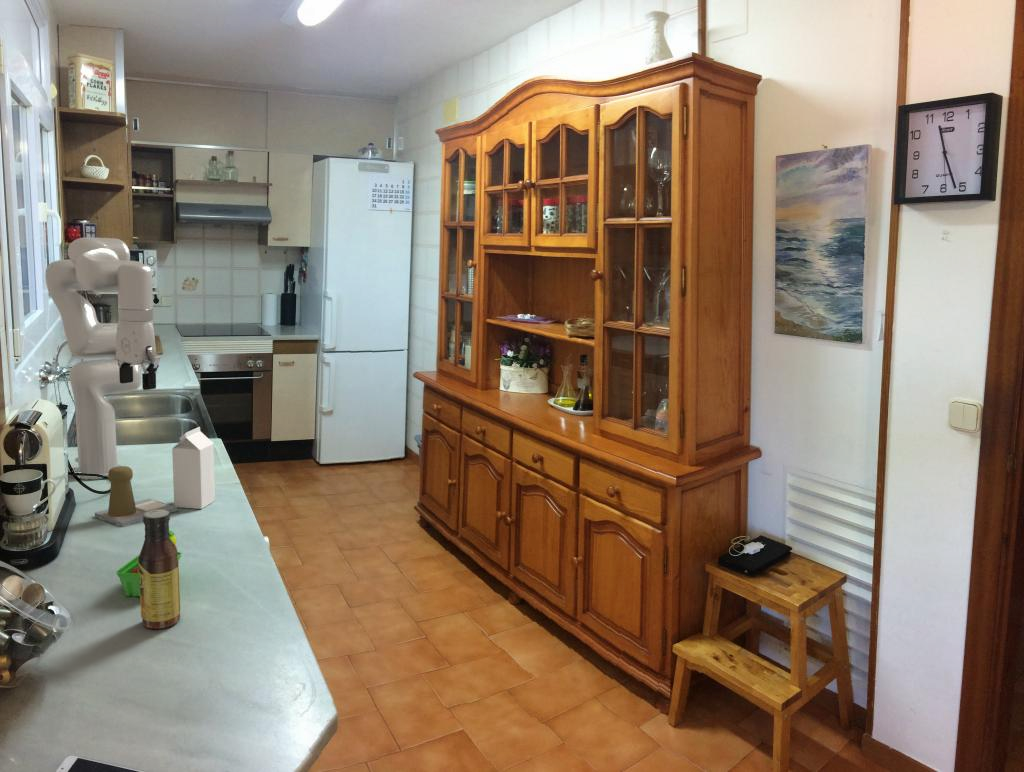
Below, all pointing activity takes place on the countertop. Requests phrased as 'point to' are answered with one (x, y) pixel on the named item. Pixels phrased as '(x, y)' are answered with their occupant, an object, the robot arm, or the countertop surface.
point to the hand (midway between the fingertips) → (137, 385)
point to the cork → (121, 492)
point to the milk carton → (193, 471)
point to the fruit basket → (136, 573)
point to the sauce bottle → (158, 573)
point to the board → (141, 508)
